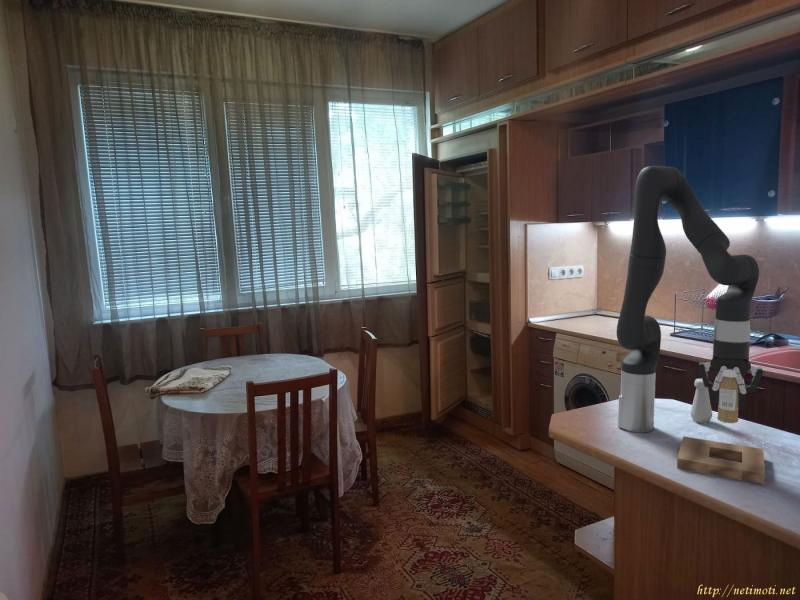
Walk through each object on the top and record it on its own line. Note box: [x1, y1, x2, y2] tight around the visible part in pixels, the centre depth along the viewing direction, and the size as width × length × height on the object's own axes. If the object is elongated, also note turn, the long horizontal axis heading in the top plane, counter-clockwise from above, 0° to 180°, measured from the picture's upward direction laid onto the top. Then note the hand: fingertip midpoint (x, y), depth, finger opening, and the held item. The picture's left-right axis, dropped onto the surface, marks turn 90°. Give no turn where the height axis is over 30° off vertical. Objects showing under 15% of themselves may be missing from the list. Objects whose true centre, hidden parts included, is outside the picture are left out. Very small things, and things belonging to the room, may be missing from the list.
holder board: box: [676, 436, 766, 485], centre depth 136 cm, size 18×16×2 cm
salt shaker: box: [690, 378, 713, 425], centre depth 164 cm, size 6×6×13 cm
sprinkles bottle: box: [716, 369, 740, 424], centre depth 133 cm, size 5×5×14 cm
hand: (728, 405), depth 134 cm, fingers closed on sprinkles bottle, 4 cm apart
